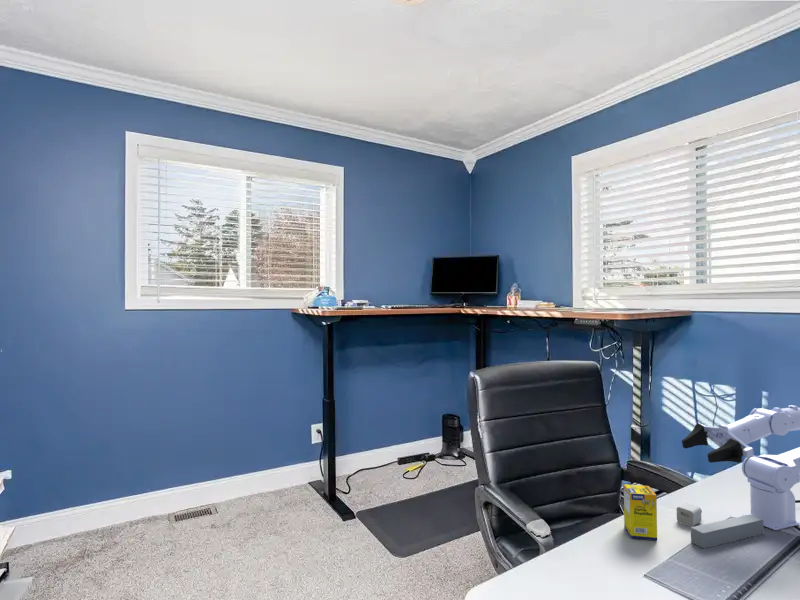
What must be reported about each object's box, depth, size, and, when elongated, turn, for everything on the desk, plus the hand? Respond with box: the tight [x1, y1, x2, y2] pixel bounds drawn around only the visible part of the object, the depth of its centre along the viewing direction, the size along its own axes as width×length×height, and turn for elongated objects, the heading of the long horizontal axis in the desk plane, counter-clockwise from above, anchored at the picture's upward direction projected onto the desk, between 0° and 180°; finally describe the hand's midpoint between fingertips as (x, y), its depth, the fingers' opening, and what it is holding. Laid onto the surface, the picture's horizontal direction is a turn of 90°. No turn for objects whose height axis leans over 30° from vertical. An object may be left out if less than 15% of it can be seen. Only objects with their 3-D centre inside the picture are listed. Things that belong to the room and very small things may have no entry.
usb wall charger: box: [676, 502, 703, 528], centre depth 119 cm, size 4×7×4 cm, turn 125°
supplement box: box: [623, 484, 658, 542], centre depth 112 cm, size 6×6×11 cm
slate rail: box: [690, 514, 765, 549], centre depth 110 cm, size 20×3×4 cm, turn 109°
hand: (695, 451), depth 114 cm, fingers open, 7 cm apart
